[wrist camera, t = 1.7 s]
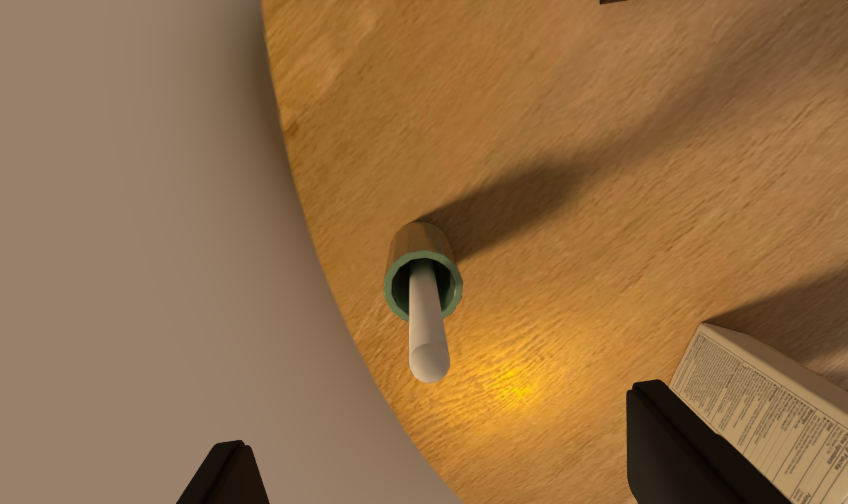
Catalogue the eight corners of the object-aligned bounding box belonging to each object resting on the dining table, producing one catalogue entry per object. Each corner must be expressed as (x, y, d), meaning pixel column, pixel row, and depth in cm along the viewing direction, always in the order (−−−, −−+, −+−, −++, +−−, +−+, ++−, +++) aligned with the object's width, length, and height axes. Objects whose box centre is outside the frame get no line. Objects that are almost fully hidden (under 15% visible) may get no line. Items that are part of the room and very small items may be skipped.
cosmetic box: (712, 402, 31) (893, 561, 20) (661, 389, 31) (815, 545, 19) (752, 331, 30) (975, 459, 18) (698, 317, 29) (891, 439, 17)
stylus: (408, 243, 26) (405, 357, 13) (429, 240, 26) (448, 351, 13) (411, 263, 27) (412, 394, 13) (432, 260, 27) (454, 388, 13)
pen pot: (384, 226, 26) (376, 257, 20) (446, 217, 26) (458, 244, 20) (395, 282, 28) (390, 329, 21) (453, 273, 28) (467, 318, 21)
